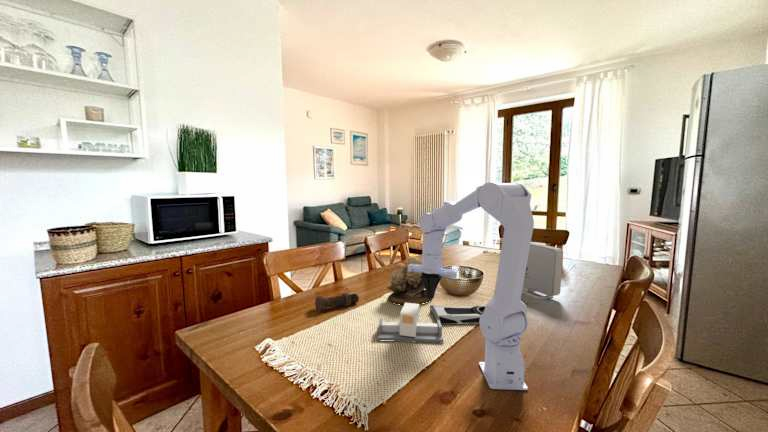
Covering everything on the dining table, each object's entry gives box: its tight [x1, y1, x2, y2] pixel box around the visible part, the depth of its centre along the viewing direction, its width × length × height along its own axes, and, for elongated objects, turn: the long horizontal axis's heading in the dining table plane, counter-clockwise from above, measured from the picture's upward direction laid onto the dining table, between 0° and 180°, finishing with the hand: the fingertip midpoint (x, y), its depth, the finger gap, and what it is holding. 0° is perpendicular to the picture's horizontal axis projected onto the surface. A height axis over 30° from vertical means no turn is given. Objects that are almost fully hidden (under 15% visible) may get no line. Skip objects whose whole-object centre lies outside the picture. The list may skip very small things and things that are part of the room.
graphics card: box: [429, 304, 485, 325], centre depth 101 cm, size 10×3×25 cm
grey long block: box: [377, 317, 444, 343], centre depth 90 cm, size 9×18×4 cm, turn 88°
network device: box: [522, 241, 564, 300], centre depth 127 cm, size 26×9×20 cm, turn 25°
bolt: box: [314, 292, 360, 313], centre depth 109 cm, size 6×5×15 cm
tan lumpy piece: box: [387, 255, 433, 306], centre depth 116 cm, size 18×12×17 cm, turn 106°
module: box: [399, 303, 421, 337], centre depth 89 cm, size 8×4×6 cm, turn 166°
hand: (430, 298), depth 93 cm, fingers closed
